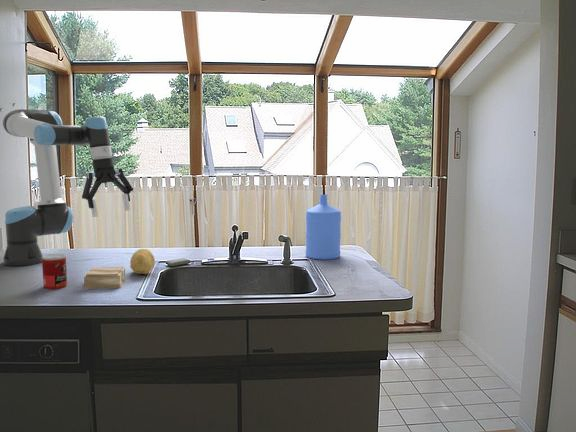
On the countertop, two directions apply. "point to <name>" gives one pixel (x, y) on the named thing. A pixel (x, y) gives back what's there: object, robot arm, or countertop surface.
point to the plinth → (104, 278)
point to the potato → (142, 261)
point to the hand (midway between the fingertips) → (111, 213)
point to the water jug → (323, 231)
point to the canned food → (54, 271)
